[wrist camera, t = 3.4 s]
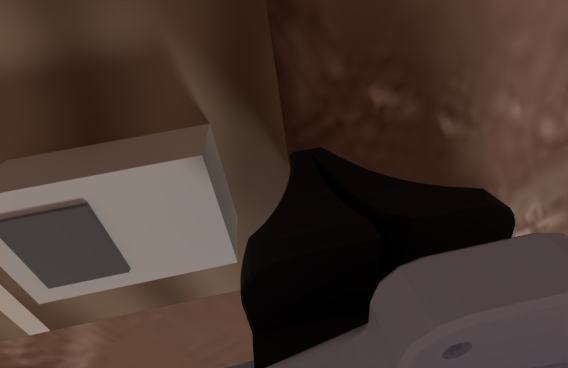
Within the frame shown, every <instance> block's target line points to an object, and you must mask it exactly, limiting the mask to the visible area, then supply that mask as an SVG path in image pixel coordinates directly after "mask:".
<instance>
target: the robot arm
mask: <svg viewBox="0 0 568 368" xmlns="http://www.w3.org/2000/svg"><path fill="white" fill-rule="evenodd" d="M290 160H291V171H290V176H289V180H288V183H287V186H286V189H285V192H284V194H283V196H282V198H281V200H280V202H279V204H278V205H277V207H276V209H275V210H274V212H273V213H272V214H271V215H270V217H269V218H268V219H267V221H266V222H265V223H264V224H263V225H262V226H261V227H260V228H259V229H258V230H257V231H256V232H255V233H254V234H252V235H251V236H250V237H249V238H248V241H247V245H246V248H245V252H244V257H243V261H242V268H241V277H240V287H241V300H242V305H243V308H244V311H245V313H246V316H247V319H248V322H249V325H250V327H251V330H252V335H253V354H254V361H250V362H246V363H241V364H237V365H232V366H228V367H224V368H568V236H566V235H565V234H563V233H532V234H527V235H523V236H518V237H513V238H511V237H512V234H513V230H514V227H515V218H514V214H513V212H512V210H511V209H510V207H508V206H507V205H505V204H504V203H503V202H501V201H500V200H498V199H497V198H496V197H494V196H493V195H491V194H490V193H489V192H487V191H486V190H484V189H477V188H460V187H445V186H437V185H429V184H422V183H416V182H411V181H406V180H401V179H397V178H393V177H389V176H386V175H382V174H379V173H376V172H373V171H370V170H367V169H365V168H363V167H360V166H358V165H355V164H353V163H351V162H349V161H347V160H345V159H343V158H341V157H339V156H337V155H335V154H333V153H331V152H329V151H327V150H325V149H323V148H321V147H319V148H314V149H308V150H303V151H298V152H292V153H291V155H290Z"/></svg>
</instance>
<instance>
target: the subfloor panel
mask: <svg viewBox="0 0 568 368" xmlns="http://www.w3.org/2000/svg"><path fill="white" fill-rule="evenodd" d="M205 124H210V126H211V130H212V133H213V136H214V140H215V143H216V147H217V150H218V153H219V157H220V160H221V164H222V167H223V170H224V174H225V177H226V181H227V184H228V187H229V191H230V194H231V198H232V201H233V205H234V208H235V211H236V215H237V243H238V263H233V264H228V265H223V266H218V267H214V268H209V269H204V270H199V271H195V272H190V273H185V274H180V275H176V276H171V277H166V278H161V279H157V280H152V281H147V282H142V283H138V284H133V285H128V286H123V287H119V288H114V289H109V290H104V291H100V292H95V293H90V294H85V295H81V296H76V297H71V298H66V299H61V300H57V301H52V302H47V303H42V304H38V303H37V302H36V301H35V300H34V299H33V298H32V297H31V296H30V295H29V294H28V293H27V292H26V291H25V290H24V289H23V288H22V287H21V286H20V285H19V284H18V283H17V282H16V281H15V280H14V279H13V278H12V277H11V276H10V275H8V274H7V273H6V272H5V271H4V270H3V269H2V268H1V267H0V342H1V341H5V340H10V339H14V338H19V337H24V336H28V335H33V334H38V333H42V332H47V331H52V330H56V329H61V328H65V327H70V326H75V325H79V324H84V323H89V322H93V321H98V320H102V319H107V318H112V317H116V316H121V315H126V314H130V313H135V312H140V311H144V310H149V309H153V308H158V307H163V306H167V305H172V304H177V303H181V302H186V301H191V300H195V299H200V298H204V297H209V296H214V295H218V294H223V293H228V292H232V291H237V290H241V287H240V277H241V268H242V261H243V257H244V252H245V248H246V245H247V241H248V238H249V237H250V236H251V235H252V234H254V233H255V232H256V231H257V230H258V229H259V228H260V227H261V226H262V225H263V224H264V223H265V222H266V221H267V219H268V218H269V217H270V215H271V214H272V213H273V212H274V210H275V209H276V207H277V205H278V204H279V202H280V200H281V198H282V196H283V194H284V192H285V189H286V186H287V183H288V180H289V176H290V166H289V159H288V151H287V144H286V137H285V130H284V123H283V116H282V109H281V102H280V95H279V88H278V81H277V74H276V67H275V59H274V52H273V45H272V38H271V31H270V24H269V17H268V10H267V3H266V0H0V164H2V163H4V162H5V161H7V160H11V159H17V158H22V157H28V156H33V155H39V154H44V153H50V152H56V151H61V150H67V149H72V148H78V147H83V146H89V145H94V144H100V143H105V142H111V141H116V140H122V139H127V138H133V137H138V136H144V135H149V134H155V133H160V132H166V131H171V130H177V129H182V128H188V127H194V126H199V125H205Z"/></svg>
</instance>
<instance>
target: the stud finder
mask: <svg viewBox="0 0 568 368" xmlns="http://www.w3.org/2000/svg"><path fill="white" fill-rule="evenodd" d="M233 263H238V243H237V215H236V211H235V208H234V205H233V201H232V198H231V194H230V191H229V187H228V184H227V181H226V177H225V174H224V170H223V167H222V164H221V160H220V157H219V153H218V150H217V147H216V143H215V140H214V136H213V133H212V130H211V126H210V124H205V125H199V126H194V127H188V128H182V129H177V130H171V131H166V132H160V133H155V134H149V135H144V136H138V137H133V138H127V139H122V140H116V141H111V142H105V143H100V144H94V145H89V146H83V147H78V148H72V149H67V150H61V151H56V152H50V153H44V154H39V155H33V156H28V157H22V158H17V159H11V160H7V161H5V162H4V163H2V164H0V267H1V268H2V269H3V270H4V271H5V272H6V273H7V274H8V275H10V276H11V277H12V278H13V279H14V280H15V281H16V282H17V283H18V284H19V285H20V286H21V287H22V288H23V289H24V290H25V291H26V292H27V293H28V294H29V295H30V296H31V297H32V298H33V299H34V300H35V301H36V302H37V303H38V304H42V303H47V302H52V301H57V300H61V299H66V298H71V297H76V296H81V295H85V294H90V293H95V292H100V291H104V290H109V289H114V288H119V287H123V286H128V285H133V284H138V283H142V282H147V281H152V280H157V279H161V278H166V277H171V276H176V275H180V274H185V273H190V272H195V271H199V270H204V269H209V268H214V267H218V266H223V265H228V264H233Z"/></svg>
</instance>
